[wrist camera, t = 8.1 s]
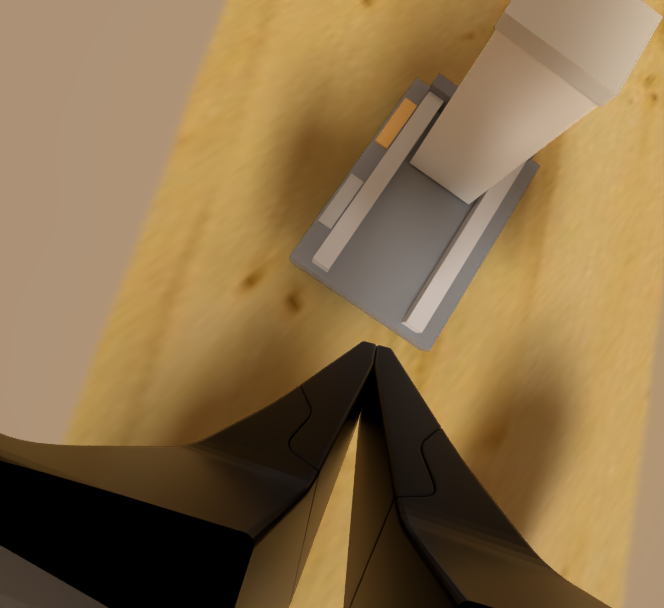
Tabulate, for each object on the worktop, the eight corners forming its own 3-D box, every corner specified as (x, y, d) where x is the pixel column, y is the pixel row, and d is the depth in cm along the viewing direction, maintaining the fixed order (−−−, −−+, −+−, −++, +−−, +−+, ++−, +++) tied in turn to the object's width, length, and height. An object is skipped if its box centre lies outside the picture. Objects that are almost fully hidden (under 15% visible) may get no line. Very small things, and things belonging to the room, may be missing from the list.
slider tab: (469, 206, 21) (617, 95, 11) (407, 163, 21) (504, 11, 11) (497, 160, 22) (663, 16, 12) (438, 118, 21) (555, -64, 12)
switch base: (420, 349, 21) (439, 352, 18) (290, 261, 21) (288, 249, 18) (525, 176, 24) (557, 153, 21) (409, 93, 23) (425, 58, 20)
